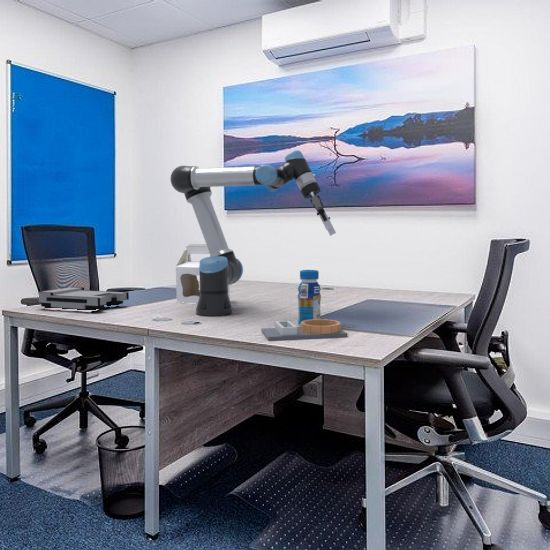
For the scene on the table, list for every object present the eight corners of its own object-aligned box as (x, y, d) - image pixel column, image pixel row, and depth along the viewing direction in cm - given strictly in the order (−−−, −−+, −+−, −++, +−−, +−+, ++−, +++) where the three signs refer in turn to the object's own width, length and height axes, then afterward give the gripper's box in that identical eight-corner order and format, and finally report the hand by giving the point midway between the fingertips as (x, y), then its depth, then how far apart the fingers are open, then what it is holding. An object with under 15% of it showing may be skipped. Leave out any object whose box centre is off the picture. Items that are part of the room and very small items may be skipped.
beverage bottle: (294, 323, 188) (294, 269, 187) (316, 322, 191) (316, 269, 189) (302, 328, 180) (302, 271, 179) (324, 326, 183) (324, 271, 181)
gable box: (176, 303, 244) (174, 244, 241) (192, 299, 255) (191, 243, 253) (215, 305, 234) (214, 244, 231) (230, 302, 246) (229, 243, 243)
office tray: (98, 314, 214) (97, 295, 213) (39, 310, 225) (38, 292, 224) (128, 307, 233) (128, 289, 232) (73, 304, 244) (72, 287, 244)
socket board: (268, 340, 161) (268, 329, 160) (261, 331, 174) (261, 321, 174) (347, 336, 165) (347, 325, 165) (334, 328, 179) (334, 318, 179)
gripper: (312, 173, 196) (337, 221, 192) (320, 189, 220) (342, 232, 217) (295, 182, 197) (319, 230, 193) (304, 197, 221) (326, 240, 218)
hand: (331, 231), depth 205 cm, fingers open, 13 cm apart
